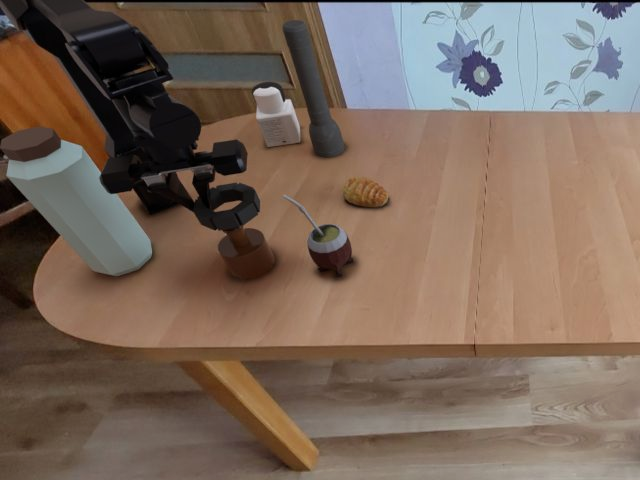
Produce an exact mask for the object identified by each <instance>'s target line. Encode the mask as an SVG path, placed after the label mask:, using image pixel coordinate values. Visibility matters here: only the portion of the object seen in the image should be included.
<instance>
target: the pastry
mask: <svg viewBox="0 0 640 480" xmlns="http://www.w3.org/2000/svg"><path fill="white" fill-rule="evenodd" d="M341 195H342V197H343V198H344V199H345V200H346V201H347V202H349V203H350V204H353V205H356V206H360V207H365V208H366V207H367V208H377V207H382V206H384V205H385V204H386V203H387V202H388V199H389V193H388V191H387V190H386V189H385V188H384V187H383V186H381V185H380V184H379V183H378V182H375V181H374V180H372V179H371V178H366V177H364V176H361V177H357V176H351V177H349V178H348V179H347V180H346V181H345V184H344V185H343V187H342V194H341Z"/></svg>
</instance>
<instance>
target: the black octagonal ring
mask: <svg viewBox="0 0 640 480" xmlns="http://www.w3.org/2000/svg"><path fill="white" fill-rule="evenodd" d="M210 196H211V205H212V208H211V210H210V209H208V208H206V207H205V206H204V204H203V202H202V200H201V199H200V197H199V195H198V196H197V198H196V199H194V209H193V212H192V213H193V215H195V218H196V219H197V220H198V222H199V224H200V225H201V226H202V227H205V228H207V229H210V230H212V231H218V232H220V231H221V232H222V230H227V229H232V228H237V227H240V224H241V225H244V226H245V225H246V224H248V223H249V222H251V221H252V220H253V219H254V218H256V217H257V216H258V215H259V213H261V199H260V197H259V195H258V192H257V190H256V189H255V188H254V187H253V186H250V185H247V184H244V183H242V182H239V183H238V182H231V183H224V184H219V185H216V186H215V187H214V186H212V187H210ZM238 201H239V203H238V204H236V205H235V206H233V207H232V208H230V209H225V210H224V209H223V210H218V211H215V210H217V209H218V208H220V207H221V206H223V205H224V204H226V203H227V204H228V203H233V202H238Z"/></svg>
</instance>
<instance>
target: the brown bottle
mask: <svg viewBox="0 0 640 480" xmlns="http://www.w3.org/2000/svg"><path fill="white" fill-rule="evenodd" d="M244 226H245V225H241V224H240V227H237V228H232V229H227V230H221V232H222V233H224V234H226V235H224V236H223V237H222V238H221V239H220V240H219V242H218V244H217V251H218V253H219V255H220V257H221V258H222V260H223V262H224V263H225V265H226V267H227V268H228V270H229V272H230V273H231V275H232V276H233V277H234V278H236V279H240V280H251V279H252V280H253V279H255V278H259V277H261V276H263V275H265V274H266V273H268V272H269V271H270V270H271V269H272V267H273V266H274V264H275V259H276V258H275V256H274V254H273V251H272V250H271V247H270V245H269V243H268V240H267V239H266V236H265V235H264V233H263V232H262V231H261V230H259V229H258V228H253V227H244Z"/></svg>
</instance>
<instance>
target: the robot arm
mask: <svg viewBox="0 0 640 480" xmlns="http://www.w3.org/2000/svg"><path fill="white" fill-rule="evenodd" d="M0 9H1V11H2V12H3V13H4V14H5V16H6V18H7V19H8V20H9V22H10V23H11V25H12V26H13V27H14V28H15V29H16V30H17V32H22V33H23V34H24V36H26V37H27V39H29V40H30V41H31V42H33V43H34V44H36V45H37V46H38V47H39V48H41V49H43V51H46V52H48V53H49V54H51V55H52V56H53V58H54V59H55V60H56V62H57V64H58V65H59V66H60V68H61V69H62V71H63V73H64V74H65V75H66V77H67V78H68V80H69V82H70V83H71V85H72V86H73V87H74V90H75V91H76V92H77V94H78V96H79V97H80V98H81V100H82V101H83V102H84V104H85V106H86V108H87V109H88V110H89V112H90V114H91V115H92V117H93V118H94V120H95V121H96V123H97V124H98V125H99V127H100V128H101V130H102V131H103V133H104V134H105V139H104V152H105V153H106V155H107V157H108V158H107V159H106V161H105V164H104V166H103V168H102V171H101V175H100V177H99V179H100V182H101V184H102V186H103V187H104V188H105V190H106V191H107V192H108V193H109V194H123V193H127V192H132V191H133V192H134V193H135V194H136V196H137V197H138V199H139V200H140V201H141V204H142V205H143V207H144V209H145V210H146V212H147V214H148V215H154V214H157V213H159V212H161V211H164V210H167V209H170V208H172V207H176V206H177V205H180V206H182V207H184V208H185V209H187V210H188V211H190V212H192V213H194V212H193V209H194V203H195V200H194V199H193V197H192V196H191V195H190V193H189V192H188V191H187V189H186V187H185V186H184V184H183V183H182V181H181V180H180V177H179V176H178V173H177V172H184V171H191V173H193V176H192V180H191V184H192V186H193V188H194V189H195V191H196V193H197V195H198V196H199V197H200V199H201V200H202V202H203V204H204V206H205V207H206V208H208V209H210V210H211V208H212V205H211V196H210V189H211V187H210V186H211V185H210V184H211V183H213V182H214V181H216V180H215V179H216V174H219V175H221V176H223V177H227V176H232V175H233V176H234V175H239V174H244V173H245V172H246V171H247V169H248V168H247V167H248V150H247V149H246V146H245V144H244V143H243V142H242V141H241V140H239V139H237V138H236V139H230V140H224V141H217V142H216V141H215V142H213V143H212V150H204V151H197V152H195V151H196V150H198V143H197V142H199V141H200V138H199V137H200V135H201V132H202V122H201V119H200V117H199V115H198V114H197V113H196V112H195V111H194V110H193V109H192V108H191V107H189V106H187V105H185V104H184V103H183V102H181V101H179V100H178V99H177V98H175V97H174V96H172V95H170V93H168V91H167V89H166V88H165V86H164V83H167V82H170V81H173V80H174V76H173V75H172V73H170V71H169V69H170V67H169V66H170V65H169V62H168V61H167V60H166V59H165V58H164V56H163V55H162V54H161V52H160V51H159V50H158V49H157V48H156V46H155V45H154V43H153V42H152V41H151V40H150V39H149V37H148V36H147V34H145V33H144V32H141V30H140V29H139V27H137V26H136V25H131V23H130V22H128V20H126V19H125V18H123V17H121V16H119V14H117V13H114V12H113V11H105V10H96V9H95V8H93V7H92V6H91V5H90V4H89V3H87V1H85V0H0ZM151 65H152V66H153V67H152V68H149V69H146V70H142V69H144V68H148V67H150V66H151ZM139 70H142V71H139ZM136 71H139V72H136ZM194 150H195V151H194Z"/></svg>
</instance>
